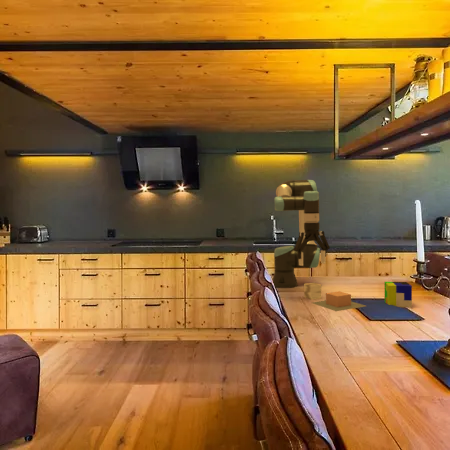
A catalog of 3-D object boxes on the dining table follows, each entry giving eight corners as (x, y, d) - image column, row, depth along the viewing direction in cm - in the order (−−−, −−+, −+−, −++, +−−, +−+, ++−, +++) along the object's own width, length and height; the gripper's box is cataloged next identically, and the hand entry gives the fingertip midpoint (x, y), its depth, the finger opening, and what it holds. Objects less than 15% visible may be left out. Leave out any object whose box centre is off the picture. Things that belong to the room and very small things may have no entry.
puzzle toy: (411, 307, 186) (411, 286, 186) (388, 307, 188) (388, 285, 188) (406, 302, 196) (406, 281, 195) (384, 302, 198) (384, 281, 197)
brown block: (304, 299, 207) (304, 283, 207) (313, 298, 210) (313, 282, 209) (311, 301, 202) (311, 285, 201) (321, 300, 204) (321, 284, 204)
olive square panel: (311, 304, 195) (311, 302, 195) (340, 300, 203) (340, 298, 203) (336, 313, 179) (336, 311, 179) (367, 308, 187) (367, 306, 187)
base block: (326, 303, 193) (325, 293, 193) (339, 301, 196) (339, 291, 196) (337, 307, 186) (337, 296, 185) (351, 305, 189) (350, 294, 189)
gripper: (295, 223, 195) (295, 267, 196) (336, 221, 205) (336, 263, 206) (286, 222, 202) (287, 265, 203) (326, 221, 212) (327, 261, 213)
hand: (312, 264), depth 204 cm, fingers open, 13 cm apart
